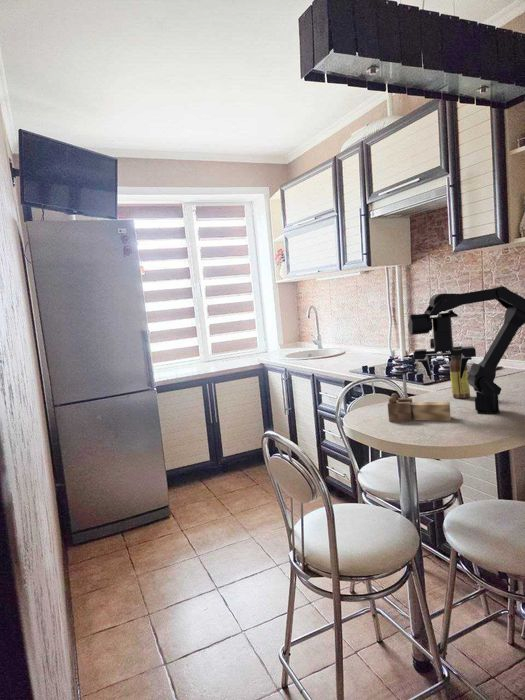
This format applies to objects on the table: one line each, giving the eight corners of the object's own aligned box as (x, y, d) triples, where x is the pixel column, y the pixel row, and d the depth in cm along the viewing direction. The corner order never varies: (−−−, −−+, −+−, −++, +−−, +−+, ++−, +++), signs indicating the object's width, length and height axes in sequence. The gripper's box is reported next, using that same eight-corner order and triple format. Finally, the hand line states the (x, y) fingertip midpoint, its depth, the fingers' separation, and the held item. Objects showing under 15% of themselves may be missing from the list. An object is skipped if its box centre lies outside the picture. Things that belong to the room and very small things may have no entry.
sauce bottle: (471, 395, 168) (467, 344, 166) (469, 399, 162) (465, 346, 161) (453, 395, 171) (449, 345, 170) (450, 398, 166) (446, 347, 164)
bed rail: (450, 416, 142) (449, 401, 142) (450, 420, 138) (449, 404, 138) (405, 416, 148) (404, 402, 147) (404, 419, 144) (403, 405, 144)
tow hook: (391, 406, 166) (395, 410, 157) (388, 372, 166) (392, 375, 157) (414, 404, 165) (419, 409, 156) (411, 371, 165) (416, 373, 155)
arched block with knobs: (413, 415, 149) (411, 392, 148) (411, 421, 141) (409, 397, 141) (392, 415, 151) (390, 392, 151) (389, 421, 144) (387, 397, 144)
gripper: (473, 327, 146) (476, 373, 147) (414, 332, 154) (417, 375, 155) (474, 330, 136) (477, 379, 137) (411, 335, 144) (415, 381, 145)
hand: (445, 378), depth 144 cm, fingers open, 9 cm apart
